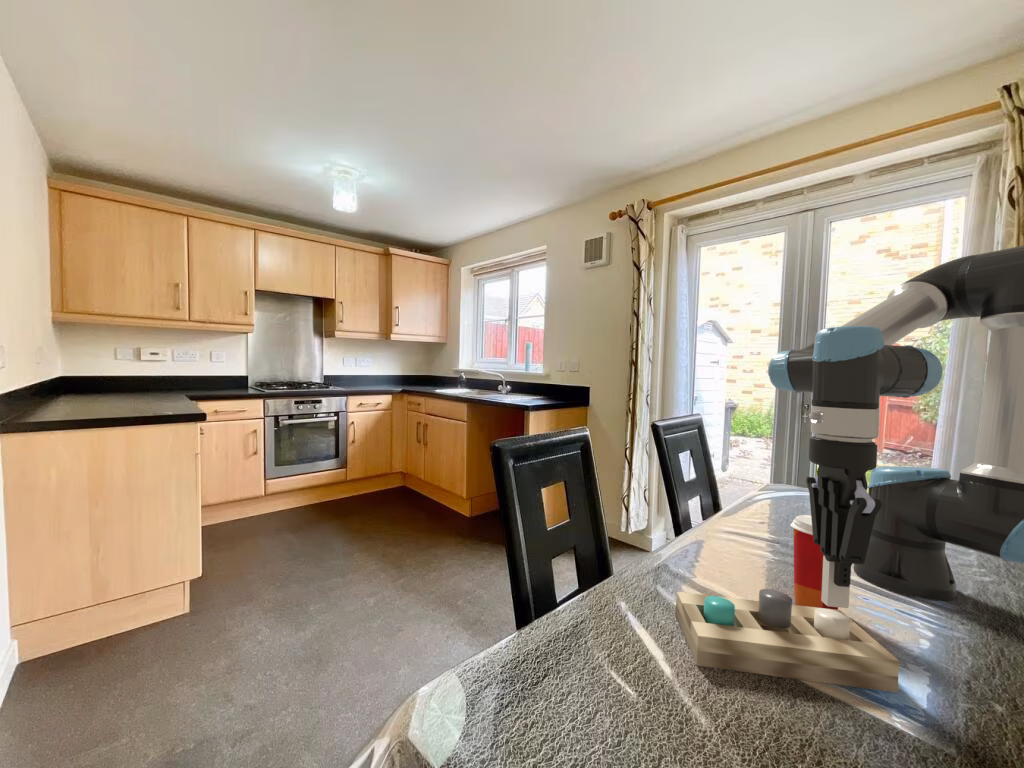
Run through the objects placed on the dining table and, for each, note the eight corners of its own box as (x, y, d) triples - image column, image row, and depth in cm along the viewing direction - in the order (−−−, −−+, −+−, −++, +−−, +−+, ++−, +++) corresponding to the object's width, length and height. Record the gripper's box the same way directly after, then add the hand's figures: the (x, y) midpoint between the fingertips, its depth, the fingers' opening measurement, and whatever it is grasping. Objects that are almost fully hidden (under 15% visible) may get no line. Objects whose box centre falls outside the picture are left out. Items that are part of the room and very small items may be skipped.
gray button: (782, 614, 63) (783, 590, 63) (796, 629, 59) (797, 604, 59) (753, 610, 63) (754, 587, 63) (765, 626, 59) (766, 601, 59)
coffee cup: (834, 601, 76) (839, 518, 76) (854, 626, 68) (859, 533, 68) (780, 592, 79) (784, 511, 78) (793, 614, 71) (798, 525, 71)
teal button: (727, 620, 64) (729, 597, 64) (737, 636, 60) (739, 611, 60) (699, 617, 64) (700, 594, 64) (707, 632, 60) (709, 608, 60)
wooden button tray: (838, 635, 65) (840, 610, 65) (897, 692, 53) (899, 661, 53) (675, 616, 69) (676, 591, 69) (696, 665, 57) (698, 635, 57)
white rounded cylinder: (837, 633, 62) (838, 610, 62) (855, 651, 58) (857, 625, 58) (807, 630, 62) (808, 606, 62) (823, 647, 58) (824, 622, 58)
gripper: (789, 430, 67) (783, 580, 67) (841, 443, 54) (833, 628, 54) (842, 433, 65) (835, 584, 66) (908, 446, 53) (899, 635, 53)
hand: (834, 604), depth 60 cm, fingers closed
